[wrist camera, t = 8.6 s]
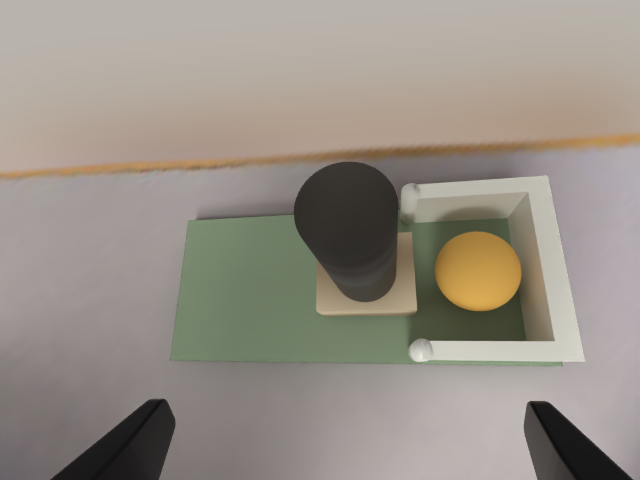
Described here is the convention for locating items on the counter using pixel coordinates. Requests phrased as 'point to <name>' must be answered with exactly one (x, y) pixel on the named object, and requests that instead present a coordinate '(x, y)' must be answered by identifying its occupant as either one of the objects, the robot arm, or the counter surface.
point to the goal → (534, 255)
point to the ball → (478, 271)
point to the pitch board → (300, 299)
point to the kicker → (356, 242)
